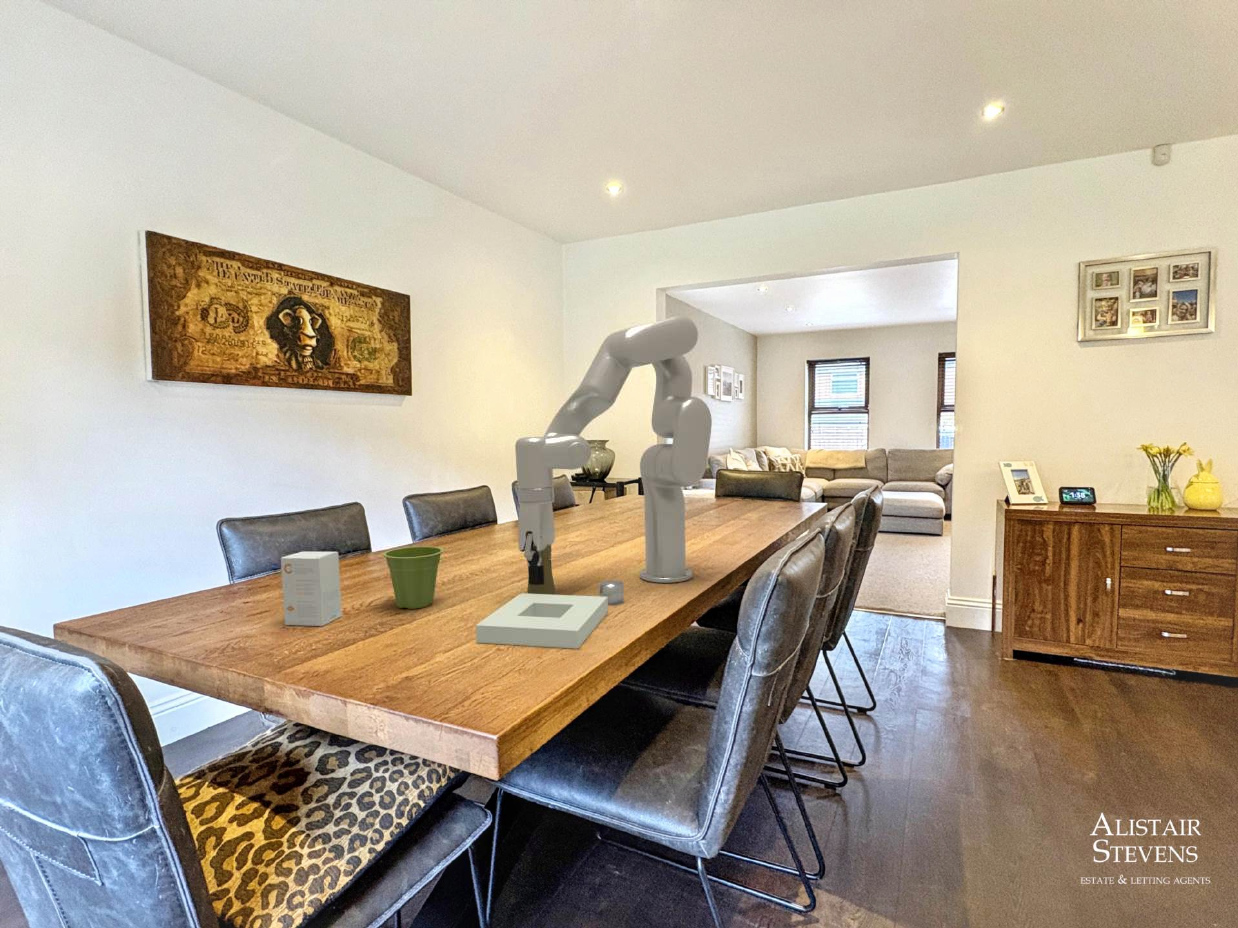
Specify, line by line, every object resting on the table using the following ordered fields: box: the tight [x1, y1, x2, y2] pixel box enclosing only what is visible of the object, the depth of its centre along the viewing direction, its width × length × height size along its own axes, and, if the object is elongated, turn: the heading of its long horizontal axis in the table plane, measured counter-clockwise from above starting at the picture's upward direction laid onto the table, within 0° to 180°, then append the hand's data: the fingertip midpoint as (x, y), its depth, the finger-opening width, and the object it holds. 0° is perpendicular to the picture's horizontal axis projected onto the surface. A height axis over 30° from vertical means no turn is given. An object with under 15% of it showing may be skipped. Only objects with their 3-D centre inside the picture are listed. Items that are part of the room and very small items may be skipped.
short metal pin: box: [598, 579, 625, 606], centre depth 127 cm, size 5×5×4 cm
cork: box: [526, 544, 557, 595], centre depth 130 cm, size 6×6×11 cm
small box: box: [280, 551, 343, 627], centre depth 118 cm, size 8×6×13 cm
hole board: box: [475, 592, 609, 650], centre depth 112 cm, size 20×18×3 cm
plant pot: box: [382, 545, 444, 610], centre depth 128 cm, size 12×12×11 cm
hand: (540, 580), depth 130 cm, fingers closed on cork, 4 cm apart
